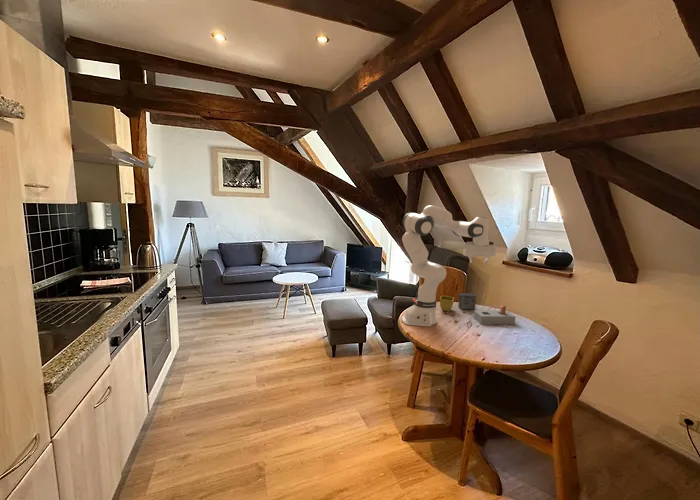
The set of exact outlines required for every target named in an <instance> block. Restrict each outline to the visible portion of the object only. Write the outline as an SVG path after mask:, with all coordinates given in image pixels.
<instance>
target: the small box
mask: <svg viewBox="0 0 700 500" xmlns="http://www.w3.org/2000/svg"><path fill="white" fill-rule="evenodd" d="M458 294H459V295H458V308H459V310H466V311H474V310H476V300H477V296H476V294H475V293H461V292H460V293H458Z"/></svg>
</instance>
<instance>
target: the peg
mask: <svg viewBox="0 0 700 500" xmlns="http://www.w3.org/2000/svg"><path fill="white" fill-rule="evenodd" d="M506 308H507V305H503V304H502V305H500V309H499V310H500V314H501V315H505V311H506V310H507V309H506Z"/></svg>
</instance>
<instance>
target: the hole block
mask: <svg viewBox="0 0 700 500" xmlns="http://www.w3.org/2000/svg"><path fill="white" fill-rule="evenodd" d="M473 318H474V320H476V321H477V323H479V324H480V325H515V324H516V316H515V315H514V314H512V313H511V312H510V311H509V310H507V309H506V311H505V315H501V314H500V309H499V310H492V309H491V310H490V309H487V310H485V309H484V310H483V309H482V310H481V309H475V310H473Z"/></svg>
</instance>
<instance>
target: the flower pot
mask: <svg viewBox="0 0 700 500" xmlns="http://www.w3.org/2000/svg"><path fill="white" fill-rule="evenodd" d="M454 303H455V297H453V296H447V295H441V296H440V298H439V307H440V309H441V311H444V312H451V310H452V308H453V306H454Z"/></svg>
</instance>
